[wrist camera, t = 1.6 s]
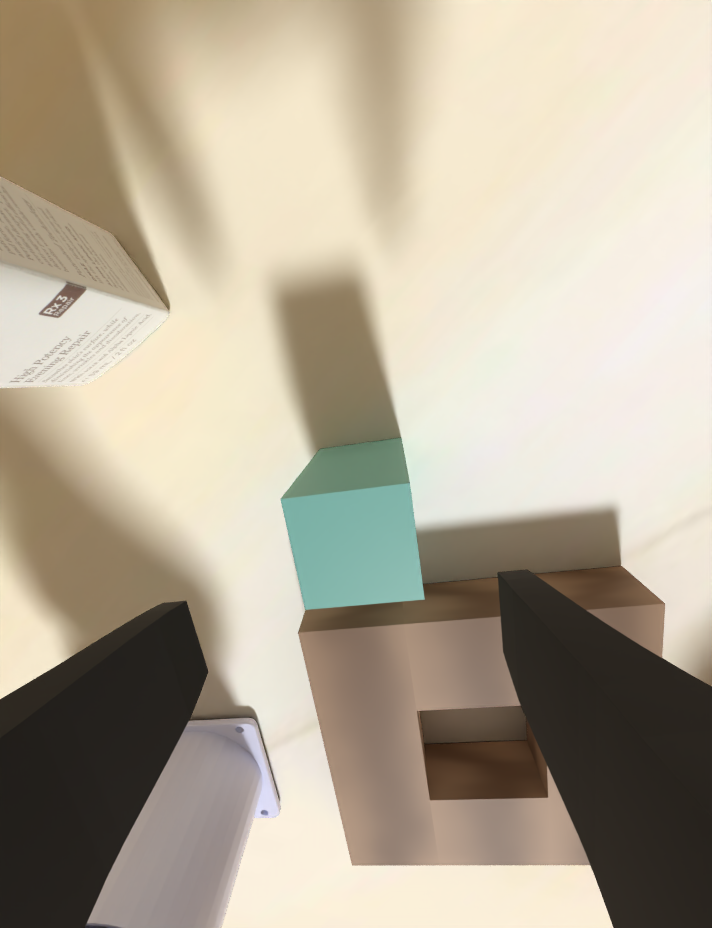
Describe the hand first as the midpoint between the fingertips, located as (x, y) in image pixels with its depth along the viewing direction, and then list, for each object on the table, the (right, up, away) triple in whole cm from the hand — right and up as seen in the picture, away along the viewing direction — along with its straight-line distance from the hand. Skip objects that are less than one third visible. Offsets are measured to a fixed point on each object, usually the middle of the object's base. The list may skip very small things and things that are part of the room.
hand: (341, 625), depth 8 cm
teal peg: (+1, +3, +10) cm, 10 cm away
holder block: (+7, -10, +13) cm, 18 cm away
